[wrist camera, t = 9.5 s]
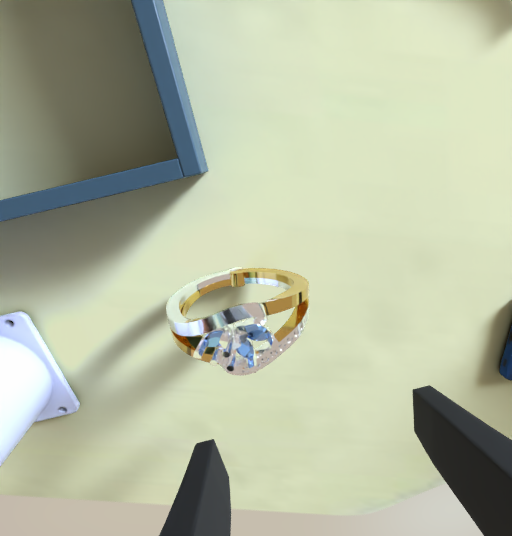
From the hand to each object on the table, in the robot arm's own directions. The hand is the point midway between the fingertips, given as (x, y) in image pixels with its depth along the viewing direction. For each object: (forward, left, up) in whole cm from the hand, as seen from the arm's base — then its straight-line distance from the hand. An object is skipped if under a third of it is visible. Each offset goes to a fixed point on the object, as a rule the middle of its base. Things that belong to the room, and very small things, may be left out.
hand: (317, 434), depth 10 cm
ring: (-2, +3, -10) cm, 10 cm away
